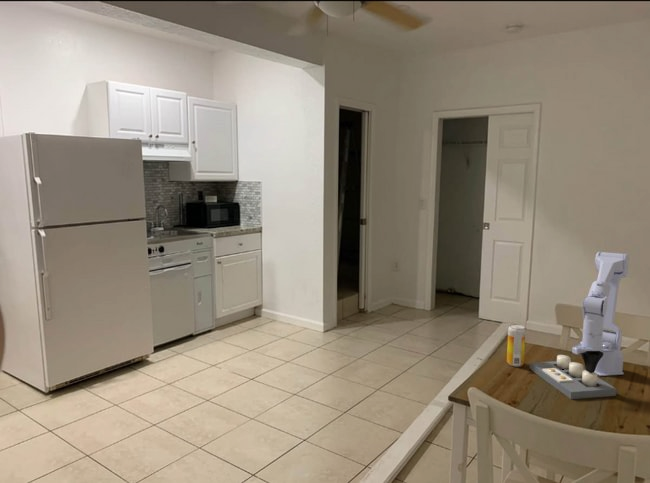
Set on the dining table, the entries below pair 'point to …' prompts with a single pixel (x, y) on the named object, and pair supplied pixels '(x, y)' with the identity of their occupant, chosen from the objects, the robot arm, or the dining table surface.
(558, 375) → the tile
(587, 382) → the button
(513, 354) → the beer can
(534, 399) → the dining table surface
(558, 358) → the button
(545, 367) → the board
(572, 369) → the button
